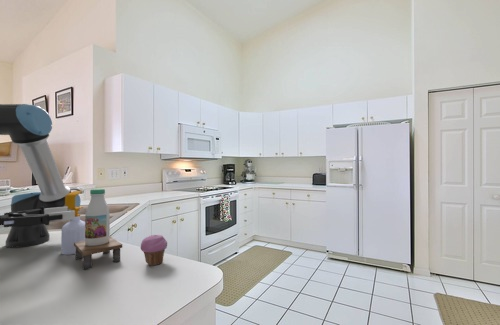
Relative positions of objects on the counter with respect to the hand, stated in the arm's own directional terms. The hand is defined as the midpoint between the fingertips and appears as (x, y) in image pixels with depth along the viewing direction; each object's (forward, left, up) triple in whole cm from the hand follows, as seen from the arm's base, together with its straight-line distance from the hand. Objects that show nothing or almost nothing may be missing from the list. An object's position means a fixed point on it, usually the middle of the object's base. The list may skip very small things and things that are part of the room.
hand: (70, 212), depth 85 cm
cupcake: (+19, +21, -19) cm, 34 cm away
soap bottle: (-18, +4, -19) cm, 26 cm away
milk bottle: (0, +8, -13) cm, 15 cm away
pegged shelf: (0, +8, -19) cm, 20 cm away
